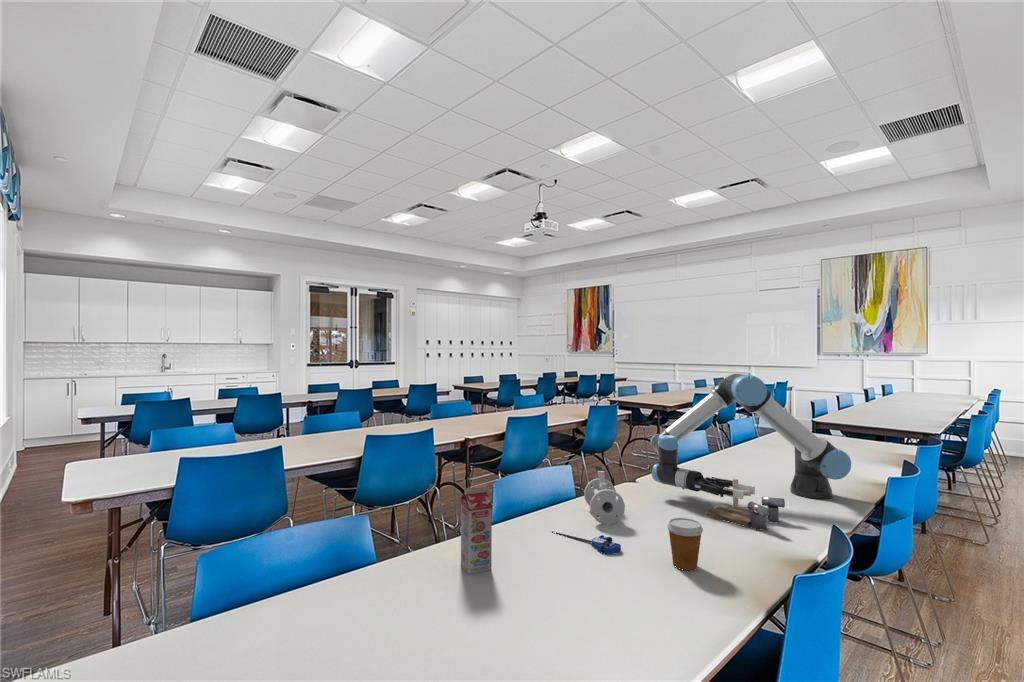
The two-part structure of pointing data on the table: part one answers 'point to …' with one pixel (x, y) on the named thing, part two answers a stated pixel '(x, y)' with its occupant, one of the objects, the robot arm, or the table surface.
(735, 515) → the mounting pad
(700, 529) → the disposable coffee cup
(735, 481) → the pipe connector
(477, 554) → the juice carton
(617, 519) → the valve
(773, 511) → the grey capsule on block
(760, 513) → the dark grey piece
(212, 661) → the table surface
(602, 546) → the bar clamp
